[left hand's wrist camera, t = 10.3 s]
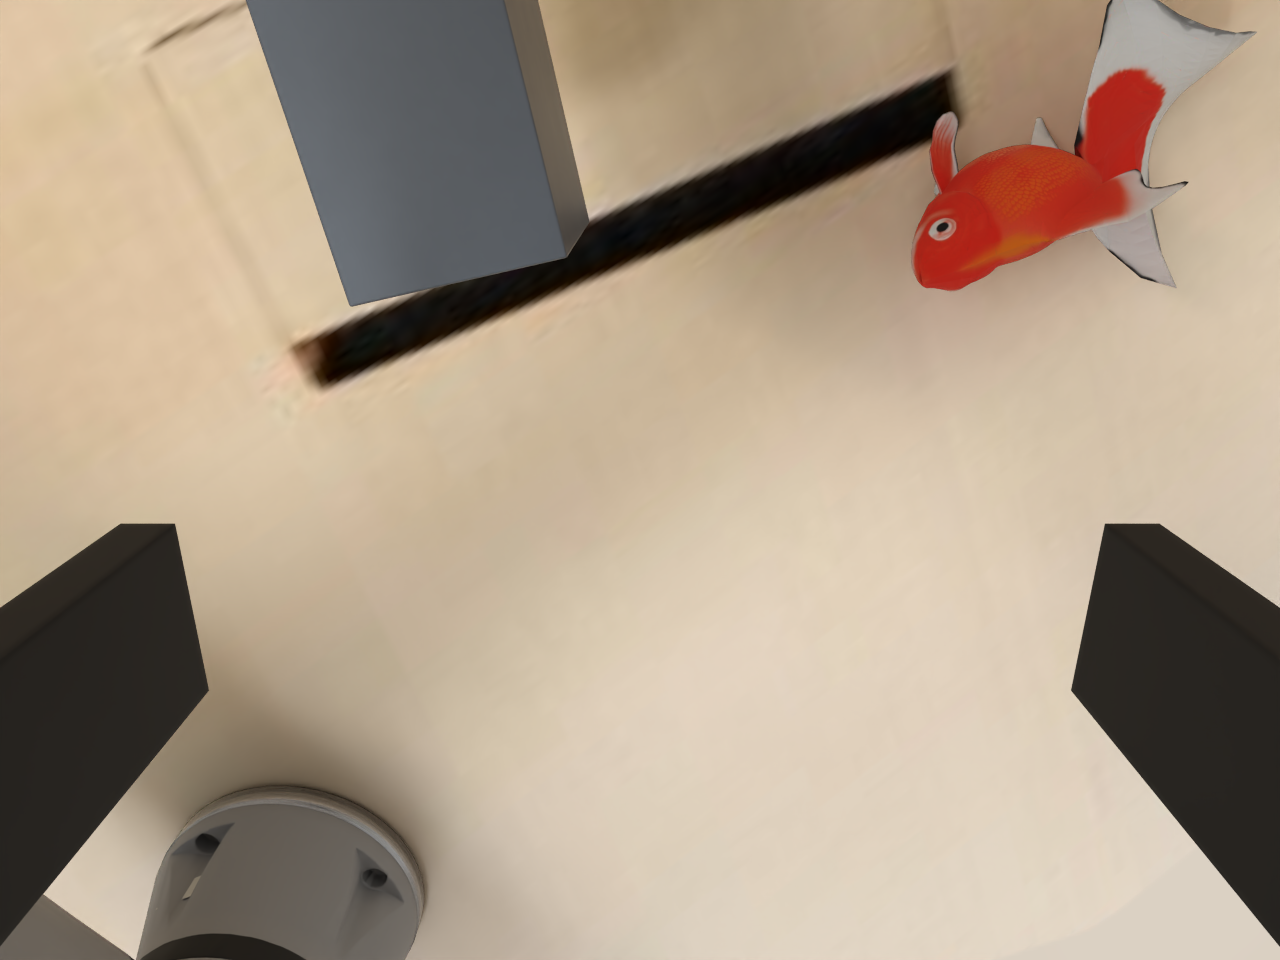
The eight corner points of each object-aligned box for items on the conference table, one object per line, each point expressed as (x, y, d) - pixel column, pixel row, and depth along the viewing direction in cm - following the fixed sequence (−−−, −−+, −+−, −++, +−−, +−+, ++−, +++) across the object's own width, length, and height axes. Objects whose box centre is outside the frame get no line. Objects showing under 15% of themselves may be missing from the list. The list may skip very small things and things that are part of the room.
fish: (839, 33, 32) (1065, 76, 25) (1129, -56, 37) (1390, -42, 30) (837, 295, 39) (1015, 388, 32) (1083, 191, 43) (1286, 251, 36)
